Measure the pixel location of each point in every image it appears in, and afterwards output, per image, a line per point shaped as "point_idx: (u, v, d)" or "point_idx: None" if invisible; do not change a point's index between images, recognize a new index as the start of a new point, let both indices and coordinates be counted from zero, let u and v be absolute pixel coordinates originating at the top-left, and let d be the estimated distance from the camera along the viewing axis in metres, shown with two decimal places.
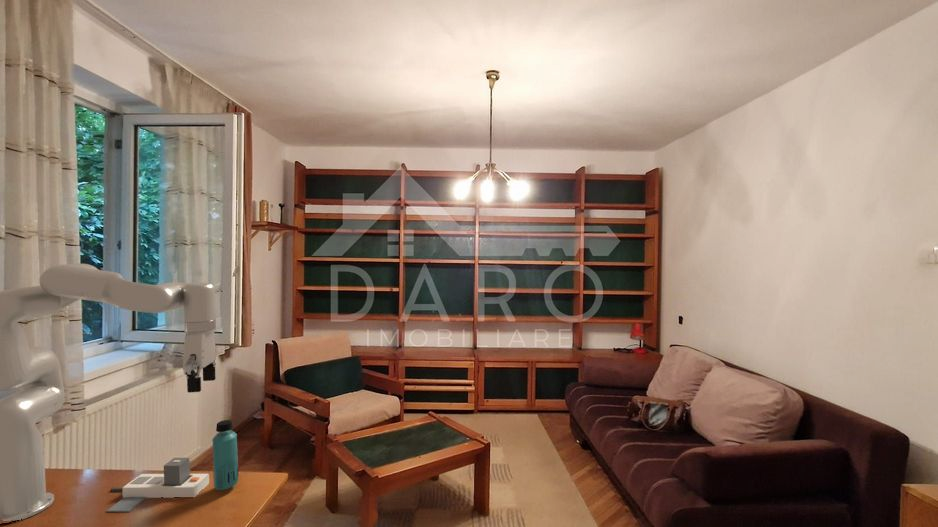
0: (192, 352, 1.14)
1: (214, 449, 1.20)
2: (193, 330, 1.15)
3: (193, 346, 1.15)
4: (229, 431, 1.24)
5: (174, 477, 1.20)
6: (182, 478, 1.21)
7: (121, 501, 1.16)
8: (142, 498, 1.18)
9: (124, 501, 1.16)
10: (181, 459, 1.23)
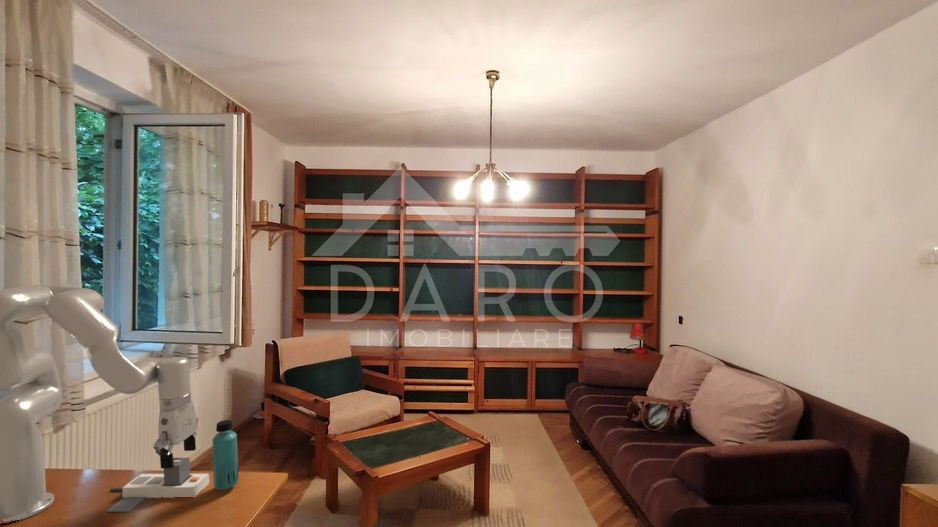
0: None
1: (214, 449, 1.20)
2: None
3: None
4: (229, 431, 1.24)
5: (174, 477, 1.20)
6: (182, 478, 1.21)
7: (121, 501, 1.16)
8: (142, 498, 1.18)
9: (124, 501, 1.16)
10: (181, 459, 1.23)
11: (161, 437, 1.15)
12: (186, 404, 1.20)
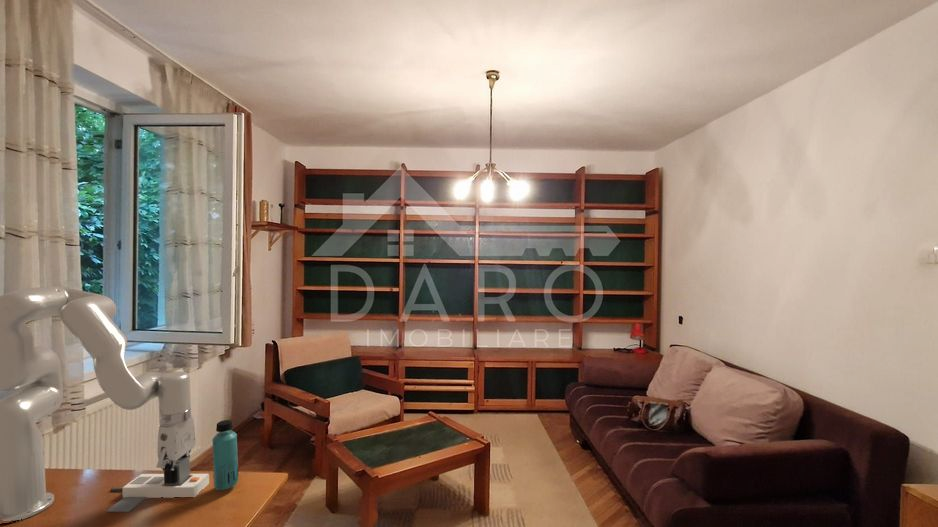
0: None
1: (214, 449, 1.20)
2: None
3: None
4: (229, 431, 1.24)
5: None
6: (182, 478, 1.21)
7: (121, 501, 1.16)
8: (142, 498, 1.18)
9: (124, 501, 1.16)
10: (181, 459, 1.23)
11: (162, 456, 1.16)
12: (186, 420, 1.20)
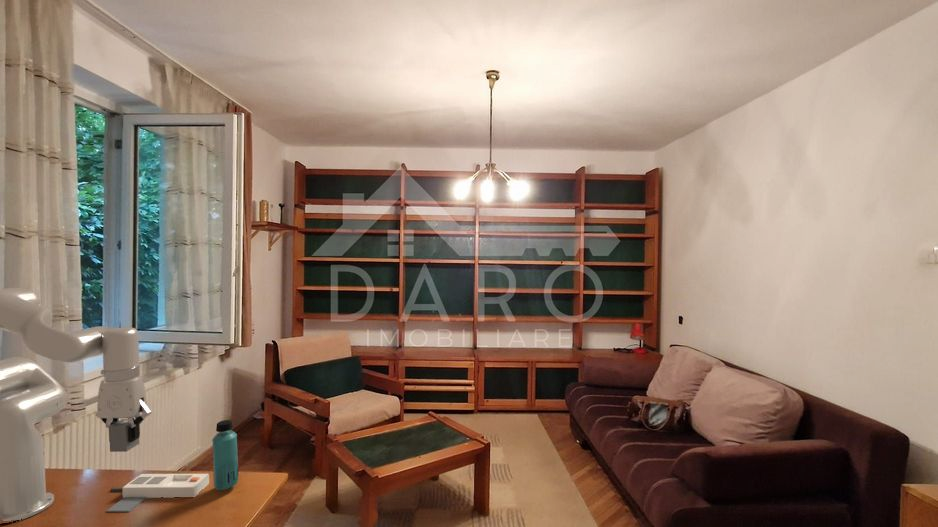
0: (141, 396, 1.14)
1: (214, 449, 1.20)
2: (135, 375, 1.13)
3: (141, 390, 1.14)
4: (229, 431, 1.24)
5: None
6: (114, 442, 1.12)
7: (121, 501, 1.16)
8: (142, 498, 1.18)
9: (124, 501, 1.16)
10: (126, 423, 1.14)
11: None
12: (107, 381, 1.10)
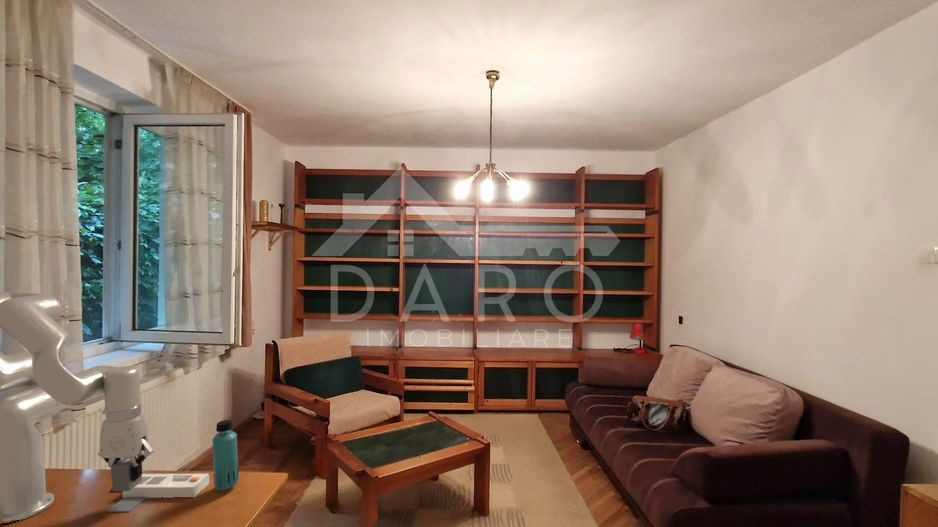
0: (143, 435, 1.14)
1: (214, 449, 1.20)
2: (136, 414, 1.14)
3: (143, 429, 1.14)
4: (229, 431, 1.24)
5: None
6: (116, 481, 1.13)
7: (121, 501, 1.16)
8: (142, 498, 1.18)
9: (124, 501, 1.16)
10: (128, 462, 1.14)
11: None
12: (109, 421, 1.10)
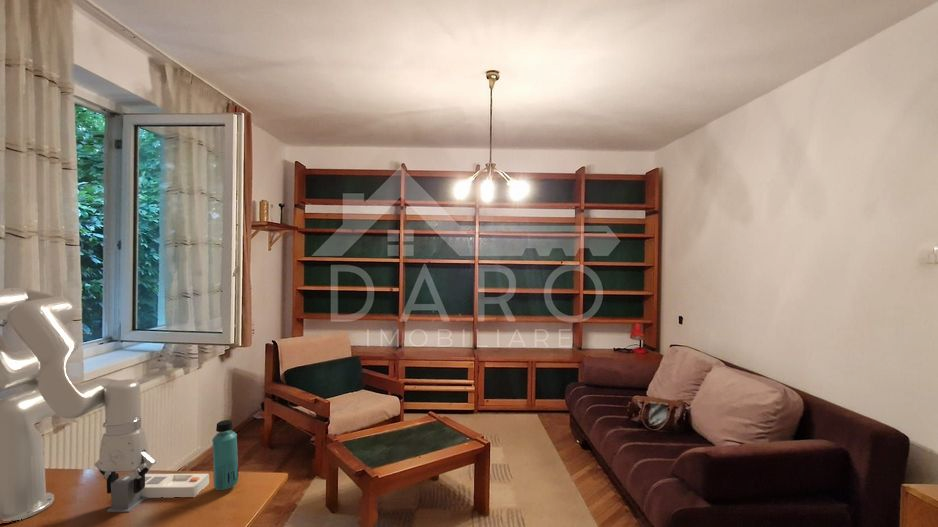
0: (142, 448, 1.14)
1: (214, 449, 1.20)
2: (136, 428, 1.14)
3: (142, 442, 1.15)
4: (229, 431, 1.24)
5: None
6: (115, 499, 1.13)
7: None
8: (142, 498, 1.18)
9: None
10: (128, 480, 1.14)
11: None
12: (109, 435, 1.11)
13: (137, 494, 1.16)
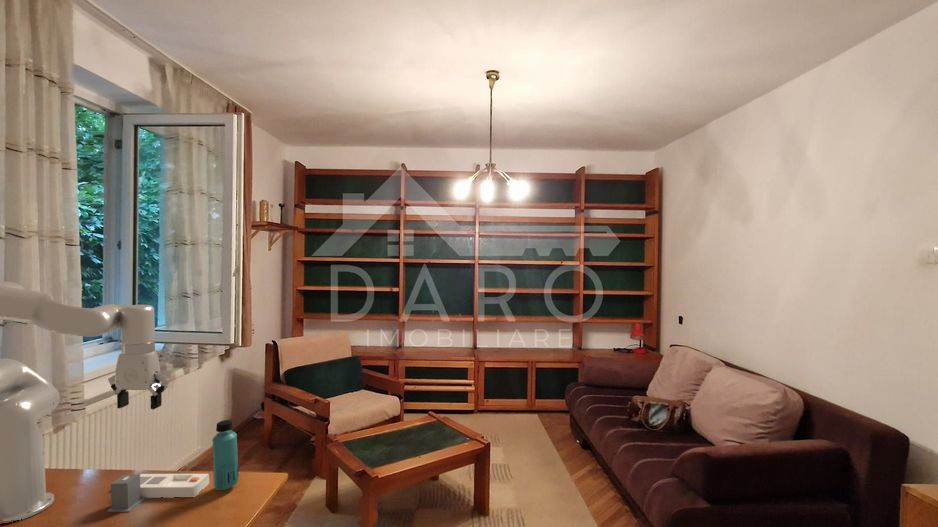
0: (155, 370, 1.20)
1: (214, 449, 1.20)
2: (150, 350, 1.20)
3: (155, 364, 1.20)
4: (229, 431, 1.24)
5: None
6: (115, 499, 1.13)
7: None
8: (142, 498, 1.18)
9: None
10: (128, 480, 1.14)
11: None
12: (125, 354, 1.16)
13: (137, 494, 1.16)
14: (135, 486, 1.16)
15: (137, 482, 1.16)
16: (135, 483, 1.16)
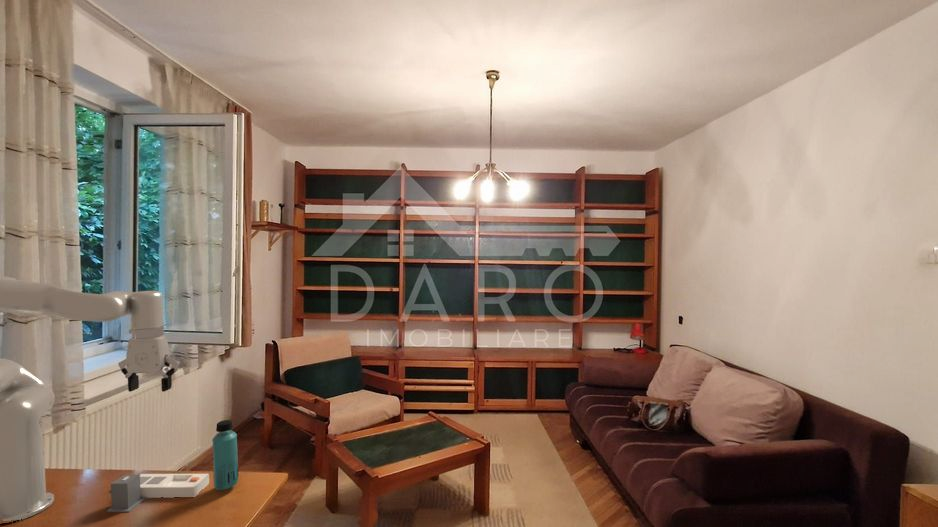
0: (165, 353, 1.24)
1: (214, 449, 1.20)
2: (160, 334, 1.24)
3: (165, 348, 1.24)
4: (229, 431, 1.24)
5: None
6: (115, 499, 1.13)
7: None
8: (142, 498, 1.18)
9: None
10: (128, 480, 1.14)
11: None
12: (135, 338, 1.20)
13: (137, 494, 1.16)
14: (135, 486, 1.16)
15: (137, 482, 1.16)
16: (135, 483, 1.16)
